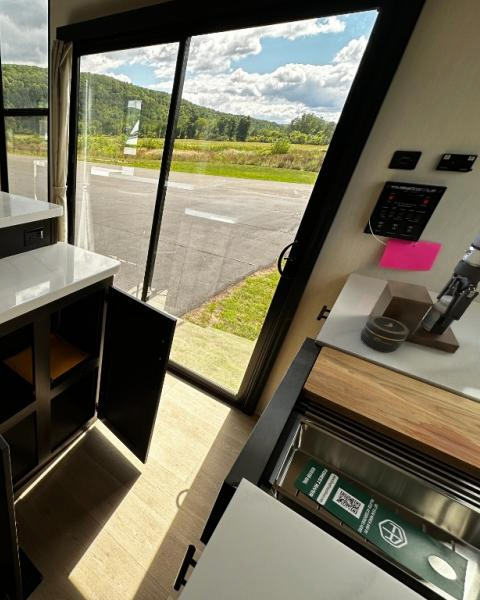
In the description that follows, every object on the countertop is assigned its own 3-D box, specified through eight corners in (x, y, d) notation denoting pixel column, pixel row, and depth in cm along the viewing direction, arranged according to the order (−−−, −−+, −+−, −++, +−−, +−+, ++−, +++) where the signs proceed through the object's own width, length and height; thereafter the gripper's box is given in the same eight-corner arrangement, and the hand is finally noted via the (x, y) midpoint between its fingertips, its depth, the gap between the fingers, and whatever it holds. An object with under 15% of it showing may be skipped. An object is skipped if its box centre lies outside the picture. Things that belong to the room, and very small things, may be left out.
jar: (400, 343, 102) (413, 325, 98) (393, 358, 97) (407, 339, 93) (362, 329, 109) (372, 311, 104) (354, 342, 103) (364, 324, 99)
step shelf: (444, 332, 106) (472, 295, 98) (454, 353, 98) (486, 315, 90) (368, 314, 116) (388, 279, 108) (371, 332, 107) (393, 295, 99)
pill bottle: (434, 322, 105) (455, 294, 99) (450, 334, 100) (473, 305, 94) (414, 322, 105) (433, 293, 99) (429, 333, 100) (451, 304, 94)
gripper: (452, 248, 98) (412, 309, 111) (471, 273, 85) (423, 339, 97) (487, 253, 95) (442, 316, 107) (512, 280, 81) (457, 348, 94)
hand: (433, 327), depth 102 cm, fingers closed on pill bottle, 6 cm apart
